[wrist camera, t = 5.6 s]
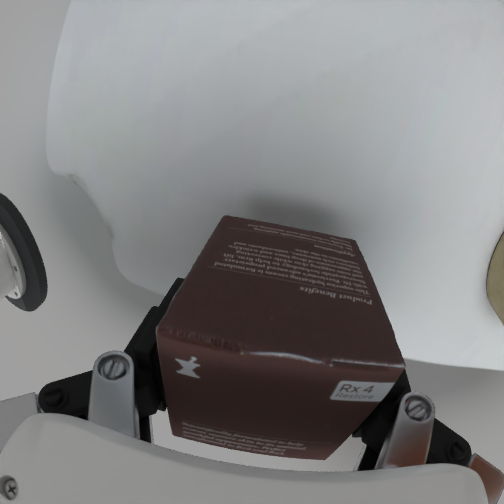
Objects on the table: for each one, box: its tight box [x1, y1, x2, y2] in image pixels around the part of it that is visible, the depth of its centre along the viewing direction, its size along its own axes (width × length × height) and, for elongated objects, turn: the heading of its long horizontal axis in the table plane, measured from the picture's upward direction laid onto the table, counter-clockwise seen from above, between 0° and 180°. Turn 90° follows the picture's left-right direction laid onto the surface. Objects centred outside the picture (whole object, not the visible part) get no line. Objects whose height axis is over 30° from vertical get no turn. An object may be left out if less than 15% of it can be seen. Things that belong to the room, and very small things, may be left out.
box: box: [156, 215, 406, 460], centre depth 10 cm, size 6×6×7 cm
